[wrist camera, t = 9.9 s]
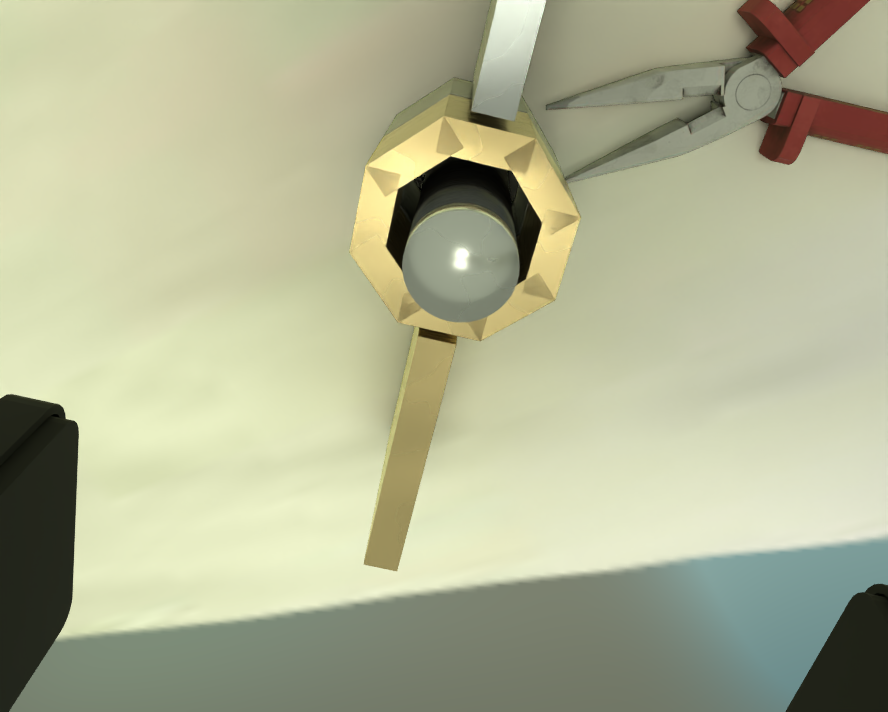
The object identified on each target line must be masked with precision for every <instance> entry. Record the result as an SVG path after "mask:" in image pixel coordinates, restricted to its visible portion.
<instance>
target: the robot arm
mask: <svg viewBox="0 0 888 712" xmlns="http://www.w3.org/2000/svg"><path fill="white" fill-rule="evenodd" d="M78 438H79V431H78V425H77V423H76V422H75V421H72V420H68V419H66V418H65V412H64V409H63V407H62V406H60V405H59V404H54V403H50V402H45V401H41V400H36V399H31V398H27V397H22V396H18V395H13V394H10V395H5V396H4V397H2V398H1V399H0V712H9V710H10V709H11V707H12V706H13V704H14V703H15V701H16V700H17V698H18V697H19V695H20V693H21V692H22V690H23V689H24V687H25V685H26V684H27V683H28V681H29V680H30V678H31V676H32V675H33V673H34V672H35V670H36V669H37V667H38V666H39V664H40V663H41V661H42V660H43V658H44V656H45V655H46V653H47V652H48V650H49V649H50V647H51V646H52V644H53V643H54V641H55V639H56V638H57V636H58V635H59V633H60V632H61V630H62V628H63V626H64V624H65V622H66V620H67V617H68V614H69V611H70V607H71V603H72V592H73V566H74V541H75V515H76V489H77V464H78ZM786 712H888V585H884V584H874V585H873V586H871V587H869V588H868V589H867V590H866V592H865V593H864V592H862V593H857V594H856V595H854V596H853V597H852V599H851V600H850V601H849V603H848V605H847V606H846V608H845V610H844V612H843V613H842V615H841V617H840V619H839V620H838V622H837V624H836V625H835V627H834V629H833V631H832V632H831V634H830V636H829V637H828V639H827V641H826V643H825V645H824V646H823V648H822V650H821V651H820V653H819V655H818V656H817V658H816V660H815V662H814V663H813V665H812V667H811V669H810V670H809V672H808V674H807V676H806V677H805V679H804V681H803V683H802V684H801V686H800V688H799V689H798V691H797V693H796V694H795V696H794V698H793V700H792V701H791V703H790V705H789V707H788V708H787V710H786Z"/></svg>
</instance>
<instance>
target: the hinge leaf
mask: <svg viewBox="0 0 888 712" xmlns="http://www.w3.org/2000/svg"><path fill="white" fill-rule="evenodd" d="M471 108H472V100H471V99H467V98H463V97H459V96H455V95H451V94H449V95H448V96H446V97H445V98H443V99H442V100H440V101H438V102H437V103H435V104H434V105H432V106H431V107H429V108H428V109H426V110H425V111H423V112H421V113H420V114H418V115H417V116H415V117H414V118H412V119H411V120H409V121H407V122H406V123H404V124H403V125H401V126H400V127H398V128H397V129H395V130H394V131H392V132H390V133H389V134H387V135H386V136H384V137H383V138H382V140H381V141H380V143H379V145H378V146H377V148H376V149H375V151H374V153H373V154H372V156H371V158H370V159H369V161H368V163H367V164H366V166H365V172H364V177H363V182H362V188H361V193H360V198H359V204H358V209H357V214H356V220H355V225H354V230H353V236H352V241H351V246H350V251H349V253H350V254H351V256H352V257H353V258H354V260H355V261H356V263H357V264H358V266H359V267H360V268H361V270H362V271H363V273H364V274H365V276H366V277H367V279H368V280H369V281H370V283H371V284H372V286H373V287H374V289H375V290H376V292H377V293H378V294H379V296H380V297H381V299H382V300H383V302H384V303H385V305H386V306H387V307H388V309H389V310H390V312H391V313H392V315H393V316H394V318H395V319H396V320H397V322H399V323H403V324H407V325H412V326H415V328H414V332H413V336H412V341H411V345H410V349H409V353H408V358H407V362H406V366H405V370H404V375H403V379H402V383H401V388H400V392H399V396H398V400H397V405H396V409H395V413H394V417H393V422H392V426H391V430H390V434H389V439H388V444H387V449H386V454H385V459H384V464H383V469H382V474H381V479H380V484H379V489H378V494H377V500H376V505H375V510H374V515H373V520H372V525H371V530H370V535H369V540H368V545H367V550H366V555H365V560H364V564H365V565H369V566H374V567H379V568H384V569H388V570H393V571H397V569H398V566H399V562H400V558H401V554H402V550H403V546H404V543H405V539H406V535H407V531H408V527H409V524H410V520H411V516H412V512H413V508H414V504H415V501H416V497H417V493H418V489H419V485H420V481H421V478H422V474H423V470H424V466H425V462H426V458H427V455H428V451H429V447H430V443H431V439H432V436H433V432H434V428H435V424H436V420H437V416H438V413H439V409H440V405H441V401H442V397H443V393H444V390H445V386H446V382H447V378H448V374H449V371H450V367H451V363H452V359H453V355H454V351H455V348H456V340H457V336H460V337H464V338H469V339H473V340H477V341H482V340H483V339H485V338H487V337H489V336H491V335H493V334H494V333H496V332H498V331H500V330H502V329H504V328H505V327H507V326H509V325H511V324H513V323H515V322H516V321H518V320H520V319H522V318H524V317H525V316H527V315H529V314H531V313H533V312H535V311H536V310H538V309H540V308H542V307H544V306H546V305H547V304H549V303H551V302H553V301H555V299H556V296H557V293H558V289H559V286H560V283H561V280H562V276H563V273H564V270H565V267H566V264H567V260H568V257H569V254H570V251H571V248H572V244H573V241H574V238H575V235H576V232H577V228H578V225H579V222H580V219H581V216H580V214H579V211H578V209H577V206H576V204H575V202H574V199H573V197H572V194H571V192H570V190H569V187H568V185H567V182H566V181H565V179H564V177H563V176H562V174H561V172H560V170H559V169H558V167H557V165H556V163H555V161H554V160H553V158H552V156H551V154H550V153H549V151H548V149H547V147H546V145H545V144H544V142H543V140H542V138H541V137H540V135H539V133H538V131H537V129H536V128H535V126H534V124H533V122H532V121H531V119H530V117H529V115H528V113H524V112H520V111H517V114H516V118H515V122H514V121H510V120H506V119H502V118H498V117H494V116H490V115H486V114H482V113H477V112H473V111H471ZM450 156H452V157H456V158H460V159H464V160H468V161H472V162H476V163H481V164H485V165H489V166H493V167H497V168H501V169H505V170H510V171H512V172H513V174H514V176H515V177H516V179H517V181H518V183H519V184H520V186H521V188H522V189H523V191H524V193H525V195H526V196H527V198H528V200H529V203H528V207H527V210H526V214H525V217H524V221H523V224H522V228H521V232H520V235H519V236H517V237H516V240H517V248H518V255H519V266H520V268H519V277H518V282H517V284H516V287H515V290H514V291H513V293H512V295H511V297H510V298H509V299H508V301H507V302H506V303H505V304H504V305H503V306H502V307H501V308H500V309H499V310H497V311H496V312H494V313H493V314H491V315H489V316H487V317H485V318H483V319H480V320H477V321H472V322H451V321H446V320H443V319H439V318H437V317H435V316H433V315H431V314H429V313H428V312H426V311H425V310H424V309H422V308H421V307H420V306H419V305H418V304H417V303H416V302H415V300H414V299H413V298H412V297H411V295H410V293H409V291H408V289H407V287H406V285H405V282H404V278H403V271H402V261H403V255H404V251H405V247H406V244H407V240H408V237H409V233H410V229H411V226H412V225H411V223H410V222H409V220H408V219H407V217H406V216H405V214H404V213H403V211H402V210H401V208H400V204H401V199H402V194H403V189H404V185H405V184H407V183H408V182H410V181H411V180H413V179H415V178H416V177H418V176H419V175H421V174H423V173H424V172H426V171H428V170H429V169H431V168H432V167H434V166H436V165H437V164H439V163H440V162H442V161H444V160H445V159H447V158H448V157H450Z"/></svg>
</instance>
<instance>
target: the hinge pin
mask: <svg viewBox="0 0 888 712" xmlns="http://www.w3.org/2000/svg"><path fill="white" fill-rule="evenodd" d="M519 268H520V266H519V255H518V248H517V240H516V233H515V225H514V218H513V210H512V203H511V195H510V188H509V180H508V173H507V170H505V169H501V168H497V167H493V166H489V165H485V164H481V163H476V162H472V161H468V160H464V159H460V158H456V157H452V156H450V157H448V158H447V159H445V160H444V161H442V162H440V163H439V164H437V165H436V166H434V167H432V168H431V169H429V170H428V171H427V172H426V175H425V179H424V182H423V186H422V190H421V193H420V197H419V200H418V204H417V208H416V211H415V215H414V219H413V222H412V226H411V229H410V233H409V237H408V240H407V244H406V247H405V251H404V255H403V261H402V271H403V278H404V282H405V285H406V287H407V289H408V291H409V293H410V295H411V297H412V298H413V299H414V300H415V302H416V303H417V304H418V305H419V306H420V307H421V308H422V309H424V310H425V311H426V312H428V313H429V314H431V315H433V316H435V317H437V318H439V319H443V320H446V321H451V322H472V321H477V320H480V319H483V318H485V317H487V316H489V315H491V314H493V313H494V312H496V311H497V310H499V309H500V308H501V307H502V306H503V305H504V304H505V303H506V302H507V301H508V299H509V298H510V297H511V295H512V293H513V291H514V290H515V287H516V284H517V282H518V277H519Z"/></svg>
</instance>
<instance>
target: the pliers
mask: <svg viewBox="0 0 888 712" xmlns="http://www.w3.org/2000/svg"><path fill="white" fill-rule="evenodd" d="M869 1H870V0H797V1H796V2H795V3H793V4H792V5H791V6H790V7H789V8H788V9H787V10H786V11H785V12H784V13H782V12H781V11H780V10H779V9H778V8H777V7H776V6H775V5H774V4H773V3H772V2H771V1H769V0H748V1H747V2H746V3H745V4H744V5H743V6H742V7H741V8H740V9H739V10H738V11H737V12H738V13H739V14H740V15H741V16H742V18H743V19H744V20H745V21H746V22H747V24H748V25H749V26H750V27H751V28H752V30H753V31H754V32H755V33H756V34H757V36H758V37H757V38H756V39H755V40H754V41H753V42H752V43H750V44H749V45H748V46H747V47H746V48H747V50H748V51H749V52H750V53H751V55H752V57H750V58H738V59H729V60H721V61H712V62H702V63H693V64H685V65H677V66H669V67H662V68H656V69H652V70H649V71H646V72H643V73H640V74H637V75H634V76H631V77H629V78H626V79H623V80H620V81H617V82H614V83H611V84H608V85H605V86H602V87H599V88H596V89H593V90H590V91H587V92H584V93H581V94H578V95H575V96H572V97H569V98H566V99H563V100H560V101H557V102H554V103H552V104H549V105H546V110H552V109H565V108H578V107H592V106H605V105H619V104H632V103H646V102H657V101H668V100H680V99H683V97H692V96H703V95H713V97H714V100H715V101H713V100H712V101H711V104H712V106H711V112H709V113H707V114H705V115H703V116H701V117H699V118H697V119H695V120H693V121H691V122H689V123H687V124H686V123H685V122H683V121H682V120H680V119H679V118H676V119H674V120H672V121H671V122H669V123H667V124H665V125H663V126H661V127H659V128H657V129H655V130H653V131H651V132H649V133H647V134H645V135H643V136H641V137H640V138H638V139H636V140H634V141H632V142H630V143H629V144H627V145H625V146H623V147H621V148H619V149H618V150H616V151H614V152H612V153H610V154H608V155H606V156H605V157H603V158H601V159H599V160H597V161H595V162H594V163H592V164H590V165H588V166H586V167H584V168H583V169H581V170H579V171H577V172H575V173H573V174H572V175H570V176H568V177H566V178H565V181H566V182H567V183H570V182H574V181H579V180H583V179H587V178H591V177H595V176H599V175H603V174H607V173H611V172H616V171H620V170H624V169H628V168H632V167H636V166H640V165H644V164H649V163H653V162H657V161H661V160H665V159H669V158H673V157H677V156H680V155H683V154H685V153H688V152H691V151H693V150H695V149H697V148H700V147H702V146H704V145H707V144H709V143H711V142H713V141H716V140H718V139H720V138H722V137H724V136H726V135H728V134H730V133H733V132H735V131H737V130H739V129H741V128H743V127H745V126H747V125H749V124H751V123H753V122H755V121H757V120H759V119H760V120H761V121H763V122H765V123H768V124H769V126H768V129H767V131H766V134H765V136H764V139H763V142H762V144H761V147H760V149H759V152H760V154H762V155H763V156H765V157H766V158H768V159H769V160H771V161H775V162H779V163H783V164H788V165H789V164H792V163H793V162H794V161H795V160H796V158H797V157H798V155H799V153H800V151H801V149H802V147H803V144H804V142H805V139H806V137H807V135H809V136H813V137H817V138H821V139H826V140H830V141H834V142H839V143H843V144H847V145H851V146H856V147H860V148H864V149H869V150H873V151H877V152H881V153H886V154H888V112H883V111H879V110H875V109H871V108H867V107H863V106H858V105H854V104H850V103H846V102H842V101H837V100H833V99H829V98H825V97H821V96H816V95H812V94H808V93H804V92H800V91H795V90H791V89H786V88H782V84H781V80H780V77H783V78H786V77H787V76H788V75H789V74H790V73H791V72H792V71H793V70H794V69H795V68H797V67H798V66H799V67H800V66H801V65H802V64H803V63H804V62H805V61H806V60H807V59H808V58H809V57H810V56H812V55H813V54H814V53H815V52H814V51H815V50H816V49H818V48H819V47H820V46H821V45H822V44H823V43H824V42H825V41H826V40H827V39H828V38H830V37H831V36H832V35H833V34H834V33H835V32H836V31H837V30H838V29H839V28H840V27H842V26H843V25H844V24H845V23H846V22H847V21H848V20H849V19H850V18H851V17H852V16H854V15H855V14H856V13H857V12H858V11H859V10H860V9H861V8H862V7H863V6H864V5H866V4H867V3H868V2H869ZM779 76H780V77H779Z"/></svg>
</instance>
